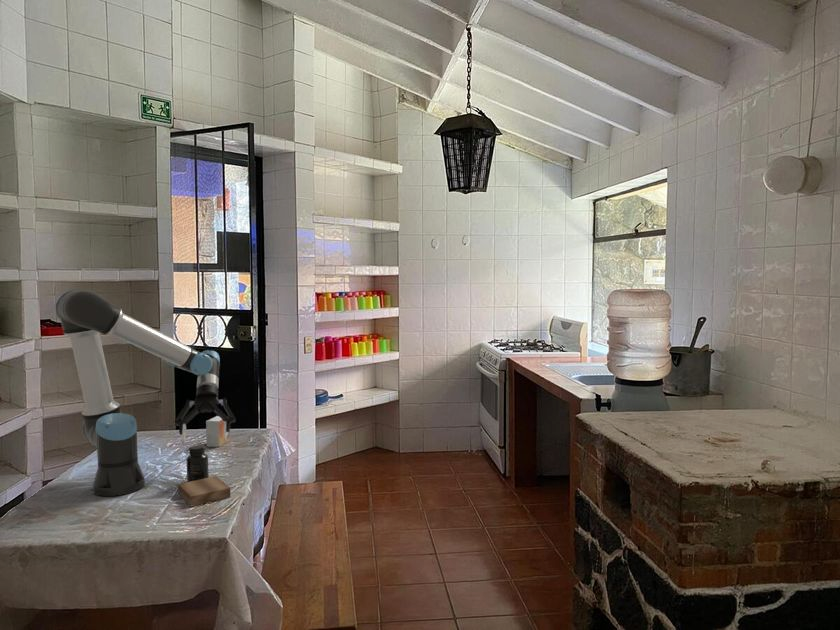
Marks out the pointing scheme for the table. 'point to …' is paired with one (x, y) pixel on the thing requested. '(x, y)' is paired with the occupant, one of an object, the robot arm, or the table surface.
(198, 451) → the supplement bottle
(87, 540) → the table surface
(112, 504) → the table surface
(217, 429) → the small box
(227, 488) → the brown flat block
